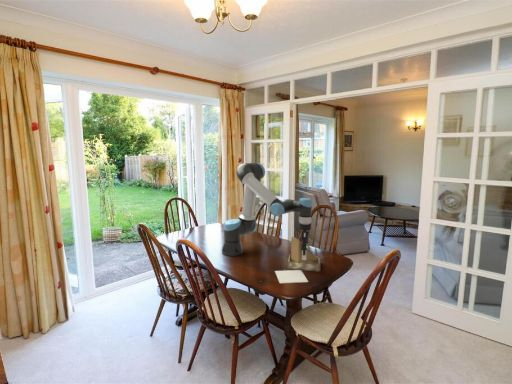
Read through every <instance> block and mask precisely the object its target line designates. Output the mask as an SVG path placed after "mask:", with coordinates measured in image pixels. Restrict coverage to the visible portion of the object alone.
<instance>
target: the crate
mask: <svg viewBox="0 0 512 384" xmlns="http://www.w3.org/2000/svg"><path fill="white" fill-rule="evenodd" d="M314 256H315V255H314ZM315 257H316V258H317V259H318V260H315V261H310V262H304V263H297V262H295V261H293V260H292V259H291V253H289V254H288V259H287V264H286V265H287V270H301V271H305V272H306V271H309V272H321V258H320V257H321V256H320V255H317V256H315Z"/></svg>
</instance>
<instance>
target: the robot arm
mask: <svg viewBox="0 0 512 384" xmlns="http://www.w3.org/2000/svg"><path fill="white" fill-rule="evenodd" d="M235 173H236V177H237V179H238V180H239V182H240V183H242V185H244V186H245V188H244V189H245V190H244V194H243V195H244V196H243V200H242V201H243V202H242V207H241V208H242V210H241V214H239V216H238V218H230V219H227V220H225V222H224V224H223V236H224V237H223V238H224V239H223V240H224V241H223V245H222V248H221V253H222V254H223V255H224V256H229V257H236V256H240V255H243V253H244V249H243V246H242V245H243V244H242V242H241V237H242V236H247V235H250V234H251V233H254V232H255V231H256V229H257V226H258V224H257V220H256V219H255V218H256V217H255V216H254V212H255V207H256V206H255V205H256V199H257V196H258V197H259V199H261V201H263V202H264V203H265V204H266V205H267V207H269V208H270V209H269V210H270V211H269V212H271V215H273V216H276V217H277V216H282V215H285V214H288V213H298V214H299V215H298V222H299V224H298V230H300V231H301V240H302V242H301V243H302V249H301V250H302V260H306V251H307V249H308V247H307V246H308V245H307V244H308V243H309V241H308V235H309V232H308V231H310V230H311V229H312V220H313V218H312V209H313V208H312V207H313V205H312V199H311V198H308V197H300V198H299V200H295V199H290V198H289V199H288V198H287V199H284V200H282V201H281V200H280V199H279V198H278V197H277V196H276V195H275V194H274V193H272V191H270V189H268V188H267V187H266V185H264V184H263V183H262V179H263V178H264V177H265V175H266V169H265V166H264V165H263V164H262V163H260V162H244V163H241V164H239V165H238V166H237V169H236V172H235ZM306 248H307V249H306Z"/></svg>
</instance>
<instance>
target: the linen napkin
mask: <svg viewBox="0 0 512 384" xmlns="http://www.w3.org/2000/svg"><path fill="white" fill-rule="evenodd" d="M274 274H275V275H276V277H277V281H278V282H279V284H282V285H283V284H297V283H298V284H299V283H309V280H308V279H307V277H306V276H305V274H304V272H303V270H293V269H287V270H274Z"/></svg>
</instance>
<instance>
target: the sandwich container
mask: <svg viewBox="0 0 512 384" xmlns="http://www.w3.org/2000/svg"><path fill="white" fill-rule="evenodd" d="M290 249H291V253H290V254H291V259H292V260H293V261H295V262H297V263H304V262H310V261H315V260H318V259H317V258H316V257H315V255H314V253H312V252H311V251H310V249H308V247H307V248H306V249H307V251H306V260H302V250H301V249H302V242H301V241H300V239H298V238H296V237H294V236H291V248H290Z"/></svg>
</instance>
